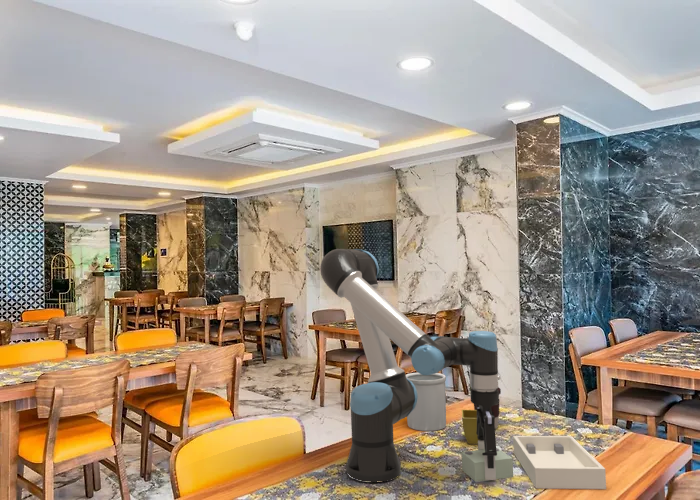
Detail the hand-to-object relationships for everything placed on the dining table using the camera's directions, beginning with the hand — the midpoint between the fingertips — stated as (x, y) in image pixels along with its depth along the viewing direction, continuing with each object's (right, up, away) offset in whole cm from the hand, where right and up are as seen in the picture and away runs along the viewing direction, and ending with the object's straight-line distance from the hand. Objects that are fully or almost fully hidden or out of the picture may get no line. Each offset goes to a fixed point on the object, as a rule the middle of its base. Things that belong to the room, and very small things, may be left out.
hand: (486, 471), depth 135 cm
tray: (+19, 0, +1) cm, 19 cm away
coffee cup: (+11, -2, +38) cm, 40 cm away
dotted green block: (0, -1, 0) cm, 1 cm away
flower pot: (+3, -1, +24) cm, 24 cm away
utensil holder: (-10, -3, +42) cm, 43 cm away
